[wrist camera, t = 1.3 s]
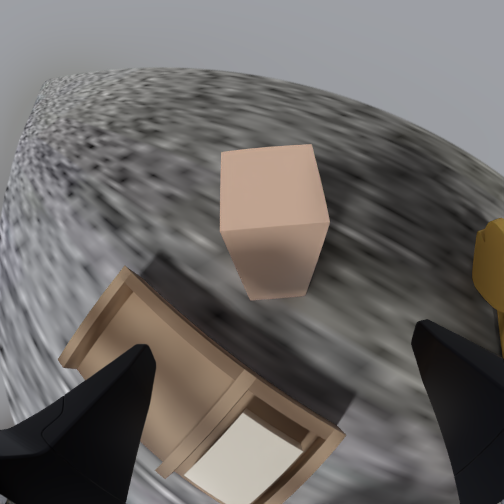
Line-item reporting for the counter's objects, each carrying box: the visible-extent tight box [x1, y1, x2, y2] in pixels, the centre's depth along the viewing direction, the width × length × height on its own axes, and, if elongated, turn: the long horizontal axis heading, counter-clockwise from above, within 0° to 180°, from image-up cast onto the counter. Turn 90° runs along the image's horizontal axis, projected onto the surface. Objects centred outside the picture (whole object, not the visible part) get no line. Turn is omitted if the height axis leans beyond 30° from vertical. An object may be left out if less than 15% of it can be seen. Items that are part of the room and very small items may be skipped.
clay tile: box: [184, 408, 303, 504], centre depth 15 cm, size 7×5×2 cm
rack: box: [58, 266, 346, 504], centre depth 17 cm, size 11×21×3 cm, turn 53°
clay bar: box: [220, 145, 330, 301], centre depth 17 cm, size 4×4×12 cm
